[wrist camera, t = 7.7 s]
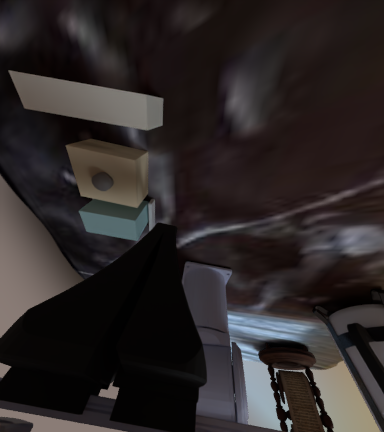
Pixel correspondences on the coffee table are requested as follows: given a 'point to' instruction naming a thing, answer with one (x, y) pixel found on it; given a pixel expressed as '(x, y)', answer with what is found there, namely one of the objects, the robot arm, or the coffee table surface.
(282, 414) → the dark round-based figurine
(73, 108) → the press frame
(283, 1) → the coffee table surface
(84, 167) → the block
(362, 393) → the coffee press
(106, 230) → the block
